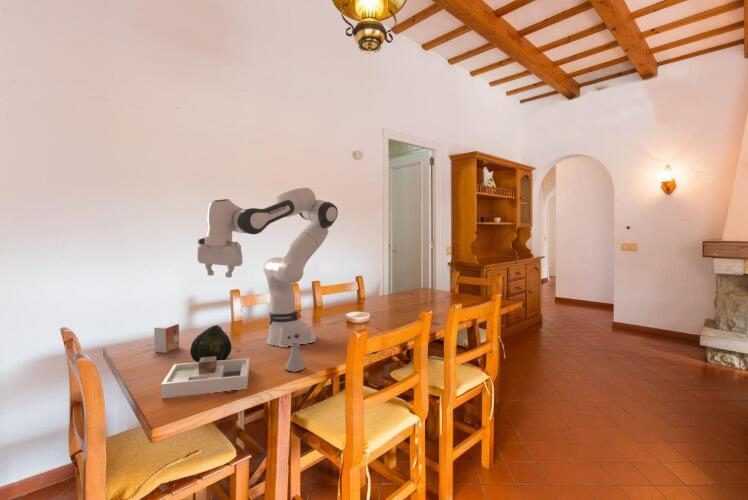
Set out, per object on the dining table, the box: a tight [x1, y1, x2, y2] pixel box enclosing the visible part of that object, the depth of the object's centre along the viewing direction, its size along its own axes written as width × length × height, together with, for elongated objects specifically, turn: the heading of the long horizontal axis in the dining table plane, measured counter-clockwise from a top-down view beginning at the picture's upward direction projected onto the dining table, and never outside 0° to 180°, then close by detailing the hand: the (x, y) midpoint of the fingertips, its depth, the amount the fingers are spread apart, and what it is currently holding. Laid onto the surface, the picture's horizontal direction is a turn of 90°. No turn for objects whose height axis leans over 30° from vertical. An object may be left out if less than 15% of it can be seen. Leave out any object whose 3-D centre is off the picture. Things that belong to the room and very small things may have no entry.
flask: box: [284, 342, 306, 372], centre depth 136 cm, size 7×7×10 cm
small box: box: [153, 322, 180, 354], centre depth 155 cm, size 8×6×10 cm
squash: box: [189, 324, 232, 362], centre depth 142 cm, size 14×15×15 cm
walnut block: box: [199, 356, 216, 374], centre depth 126 cm, size 5×5×4 cm
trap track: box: [160, 357, 250, 399], centre depth 123 cm, size 25×17×4 cm
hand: (219, 276), depth 141 cm, fingers open, 8 cm apart
